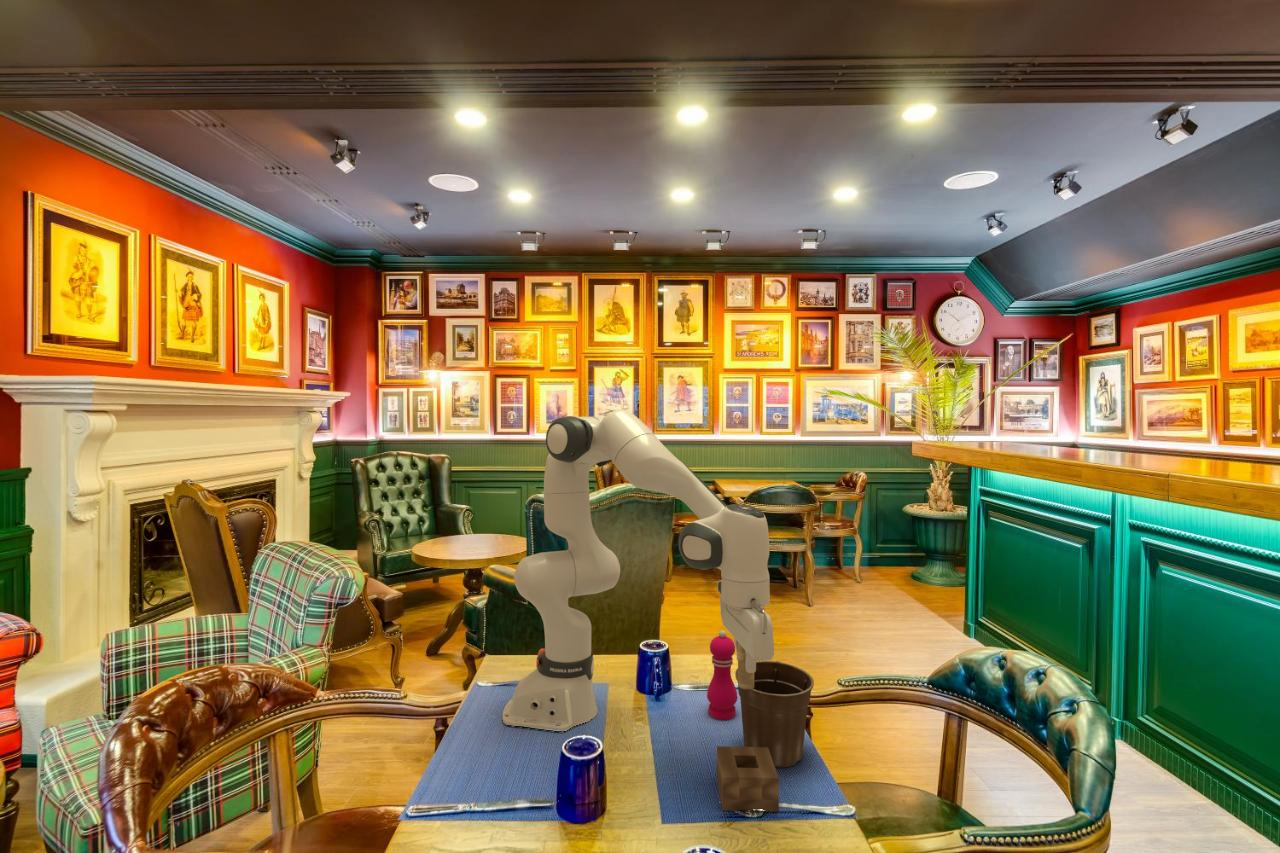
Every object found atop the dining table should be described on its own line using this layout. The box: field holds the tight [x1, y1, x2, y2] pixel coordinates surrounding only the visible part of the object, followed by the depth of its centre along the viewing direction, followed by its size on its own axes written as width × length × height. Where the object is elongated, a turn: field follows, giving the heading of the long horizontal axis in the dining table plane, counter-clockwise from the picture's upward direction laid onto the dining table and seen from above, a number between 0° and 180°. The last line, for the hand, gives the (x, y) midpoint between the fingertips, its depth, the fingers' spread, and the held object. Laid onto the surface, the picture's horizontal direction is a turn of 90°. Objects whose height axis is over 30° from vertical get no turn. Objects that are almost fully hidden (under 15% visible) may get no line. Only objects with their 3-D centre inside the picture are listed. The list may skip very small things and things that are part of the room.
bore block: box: [716, 745, 780, 813], centre depth 109 cm, size 10×10×6 cm
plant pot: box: [734, 660, 815, 769], centre depth 123 cm, size 16×16×16 cm
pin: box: [737, 643, 754, 689], centre depth 109 cm, size 3×3×10 cm
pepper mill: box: [706, 629, 738, 721], centre depth 139 cm, size 7×7×20 cm
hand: (746, 666), depth 109 cm, fingers closed on pin, 3 cm apart
